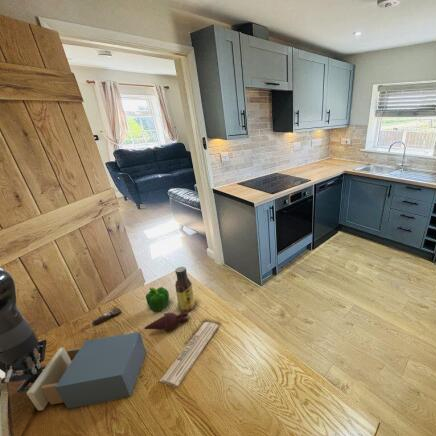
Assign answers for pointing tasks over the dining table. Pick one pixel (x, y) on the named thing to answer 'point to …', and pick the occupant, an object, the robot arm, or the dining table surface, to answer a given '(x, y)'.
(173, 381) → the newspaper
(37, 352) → the robot arm
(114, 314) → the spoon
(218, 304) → the dining table surface
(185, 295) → the sauce bottle
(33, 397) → the drawer
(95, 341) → the cabinet
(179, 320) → the beetroot
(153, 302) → the bell pepper
